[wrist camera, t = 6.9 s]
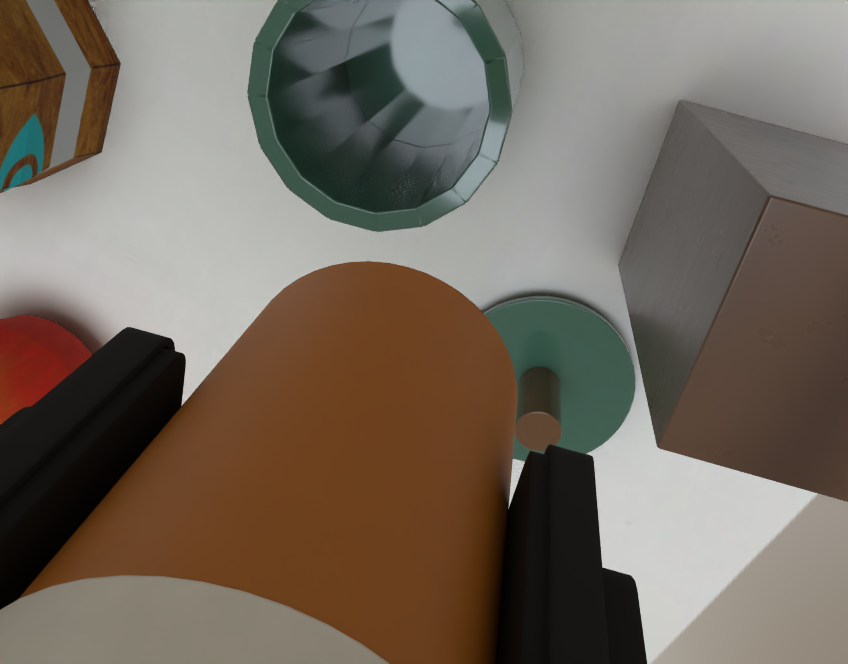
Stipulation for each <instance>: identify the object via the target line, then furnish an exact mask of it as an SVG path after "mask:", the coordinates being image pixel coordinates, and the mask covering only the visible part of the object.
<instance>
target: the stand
mask: <svg viewBox="0 0 848 664" xmlns="http://www.w3.org/2000/svg"><path fill="white" fill-rule="evenodd" d="M618 265H619V270H620V275H621V280H622V284H623V289H624V294H625V298H626V303H627V308H628V312H629V317H630V322H631V327H632V331H633V336H634V341H635V345H636V350H637V355H638V359H639V364H640V369H641V373H642V378H643V383H644V387H645V392H646V397H647V402H648V406H649V411H650V416H651V420H652V425H653V430H654V434H655V439H656V444H657V447H658V448H660V449H663V450H667V451H670V452H674V453H678V454H681V455H685V456H688V457H692V458H695V459H699V460H702V461H706V462H709V463H713V464H716V465H720V466H723V467H727V468H730V469H734V470H737V471H741V472H744V473H748V474H752V475H755V476H759V477H762V478H766V479H769V480H773V481H776V482H780V483H783V484H787V485H790V486H794V487H797V488H801V489H804V490H808V491H811V492H815V493H818V494H822V495H826V496H829V497H833V498H837V499H840V500H843V501H847V502H848V144H844V143H840V142H837V141H833V140H829V139H825V138H822V137H818V136H814V135H811V134H807V133H803V132H799V131H796V130H792V129H788V128H784V127H781V126H777V125H773V124H769V123H766V122H762V121H758V120H755V119H751V118H747V117H743V116H740V115H736V114H732V113H728V112H725V111H721V110H717V109H713V108H710V107H706V106H702V105H699V104H695V103H691V102H687V101H684V100H680V101H679V104H678V106H677V109H676V112H675V114H674V117H673V120H672V122H671V125H670V128H669V130H668V133H667V136H666V138H665V141H664V144H663V146H662V149H661V152H660V154H659V157H658V160H657V163H656V165H655V168H654V171H653V173H652V176H651V179H650V181H649V184H648V187H647V189H646V192H645V195H644V197H643V200H642V203H641V205H640V208H639V211H638V213H637V216H636V219H635V222H634V224H633V227H632V230H631V232H630V235H629V238H628V240H627V243H626V246H625V248H624V251H623V254H622V256H621V259H620V262H619V264H618Z"/></svg>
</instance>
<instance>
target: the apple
mask: <svg viewBox="0 0 848 664" xmlns="http://www.w3.org/2000/svg"><path fill="white" fill-rule="evenodd" d="M92 355H93V354H92V353H91V352H90V351H89V349H88V348H87V347H86V346H85V345H84V344H83V343H82V342H81V340H80V339H79V338H77V337H76V336H75V335H73V334H72V333H70V332H69V331H67V330H66V329H64V328H63V327H61V326H60V325H59V324H57V323H56V322H54V321H50V320H47V319H43V318H39V317H35V316H31V315H28V314H26V315H21V316H15V317H9V318H4V319H0V425H1V424H2V423H3V422H4V421H6V420H7V419H8V418H9V417H10V416H12V415H13V414H14V413H16V412H17V411H19V410H21V409H22V408H24V407H29V406H33V405H34V404H35V403H36V402H37V401H39V400H40V399H41V398H42V397H43V396H45V395H46V394H47V393H48V392H49V391H50V390H52V389H53V388H54V387H55V386H56V385H58V384H59V383H60V382H61V381H62V380H64V379H65V378H66V377H67V376H68V375H69V374H71V373H72V372H73V371H74V370H75V369H77V368H78V367H79V366H80V365H81V364H83V363H84V362H85V361H86V360H87V359H89V358H90V357H91V356H92Z"/></svg>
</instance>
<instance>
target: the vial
mask: <svg viewBox="0 0 848 664" xmlns="http://www.w3.org/2000/svg"><path fill="white" fill-rule="evenodd" d="M517 400H518V398H517V382H516V377H515V372H514V367H513V364H512V361H511V359H510V356H509V353H508V350H507V348H506V346H505V344H504V342H503V341H502V339H501V337H500V335H499V333H498V332H497V330H496V329H495V328H494V326H493V325H492V323H491V322H490V321H489V319H488V318H487V317H486V316H485V315H484V314H483V313H482V312H481V310H480V309H479V308H478V307H477V306H476V305H475V304H474V303H472V302H471V301H470V300H469V299H468V298H466V297H465V296H464V295H463V294H462V293H460V292H459V291H457V290H456V289H454V288H453V287H451V286H450V285H448V284H446V283H445V282H443V281H441V280H439V279H437V278H435V277H433V276H431V275H429V274H427V273H424V272H421V271H418V270H415V269H412V268H409V267H405V266H400V265H396V264H391V263H382V262H370V261H367V262H349V263H343V264H338V265H332V266H329V267H326V268H322V269H319V270H316V271H314V272H311V273H309V274H307V275H305V276H303V277H301V278H299V279H297V280H296V281H294V282H293V283H292V284H290V285H289V286H287V287H286V288H284V289H283V290H282V291H281V292H280V293H279V294H278V295H277V296H275V297H274V298H273V299H272V300H271V302H270V303H269V304H268V305H267V306H266V307H265V309H264V310H263V311H262V312H261V313H260V314H259V316H258V317H257V318H256V319H255V320H254V322H253V323H252V324H251V325H250V326H249V327H248V329H247V330H246V331H245V332H244V333H243V335H242V336H241V337H240V338H239V339H238V340H237V342H236V343H235V344H234V345H233V346H232V347H231V349H230V350H229V351H228V352H227V353H226V355H225V356H224V357H223V358H222V359H221V360H220V362H219V363H218V364H217V365H216V366H215V368H214V369H213V370H212V371H211V372H210V373H209V375H208V376H207V377H206V378H205V379H204V380H203V382H202V383H201V384H200V385H199V386H198V388H197V389H196V390H195V391H194V392H193V393H192V395H191V396H190V397H189V398H188V399H187V401H186V402H185V403H184V404H183V405H182V406H181V408H180V409H179V410H178V411H177V412H176V413H175V415H174V416H173V417H172V418H171V419H170V421H169V422H168V423H167V424H166V425H165V426H164V428H163V429H162V430H161V431H160V432H159V434H158V435H157V436H156V437H155V438H154V439H153V441H152V442H151V443H150V444H149V445H148V446H147V448H146V449H145V450H144V451H143V452H142V454H141V455H140V456H139V457H138V458H137V459H136V461H135V462H134V463H133V464H132V465H131V467H130V468H129V469H128V470H127V471H126V472H125V474H124V475H123V476H122V477H121V478H120V479H119V481H118V482H117V483H116V484H115V485H114V487H113V488H112V489H111V490H110V491H109V492H108V494H107V495H106V496H105V497H104V498H103V500H102V501H101V502H100V503H99V504H98V505H97V507H96V508H95V509H94V510H93V511H92V512H91V514H90V515H89V516H88V517H87V518H86V520H85V521H84V522H83V523H82V524H81V525H80V527H79V528H78V529H77V530H76V531H75V533H74V534H73V535H72V536H71V537H70V538H69V540H68V541H67V542H66V543H65V544H64V545H63V547H62V548H61V549H60V550H59V551H58V553H57V554H56V555H55V556H54V557H53V558H52V560H51V561H50V562H49V563H48V564H47V566H46V567H45V568H44V569H43V570H42V571H41V573H40V574H39V575H38V576H37V577H36V578H35V580H34V581H33V582H32V583H31V584H30V586H29V587H28V588H27V589H26V590H25V591H24V593H23V594H22V595H21V596H20V597H19V599H18V600H16V601H15V602H13V603H11V604H10V605H8V606H6V607H4V608H3V609H1V610H0V664H495V661H496V649H497V637H498V625H499V613H500V601H501V590H502V578H503V566H504V554H505V542H506V530H507V518H508V507H509V495H510V483H511V471H512V459H513V447H514V435H515V424H516V412H517Z"/></svg>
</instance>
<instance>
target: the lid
mask: <svg viewBox="0 0 848 664" xmlns="http://www.w3.org/2000/svg"><path fill="white" fill-rule="evenodd" d="M483 314H484V315H485V316H486V317H487V318H488V319H489V321H490V322H491V323H492V325H493V326H494V328H495V329H496V330H497V332H498V333H499V335H500V337H501V339H502V341H503V342H504V344H505V346H506V348H507V350H508V353H509V356H510V359H511V361H512V364H513V367H514V372H515V377H516V382H517V398H518V400H517V412H516V424H515V435H514V447H513V459H517V460H521V461H526V458H527V456H528V454H529V452H530V451H534V452H537V453H541V454H544V452H545V450H546V448H547V447H548V445H549V444H551V445H555V446H558V447H562V448H565V449H569V450H573V451H576V452H580V453H583V454H586V453H588V452H590V451H593V450H594V449H596V448H597V447H599V446H600V445H602V444H603V443H604V442H606V441H607V440H608V439H609V438H611V437H612V435H613V434H614V433H615V432H616V431H617V430H618V429H619V428H620V426H621V425H622V423H623V422H624V420H625V419H626V417H627V415H628V413H629V411H630V408H631V405H632V402H633V398H634V392H635V373H634V366H633V362H632V358H631V355H630V352H629V350H628V348H627V346H626V343H625V342H624V340H623V339H622V337H621V336H620V334H619V333H618V331H617V330H616V329H615V328H614V327H613V326H612V325H611V324H610V323H609V322H608V321H607V320H606V319H605V318H604V317H602V316H601V315H599V314H598V313H596V312H595V311H593V310H592V309H590V308H588V307H586V306H584V305H582V304H580V303H577V302H574V301H571V300H568V299H563V298H559V297H551V296H528V297H522V298H516V299H513V300H509V301H506V302H503V303H501V304H499V305H496V306H494V307H492V308H491V309H489V310H487V311H485V312H484V313H483Z"/></svg>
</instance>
